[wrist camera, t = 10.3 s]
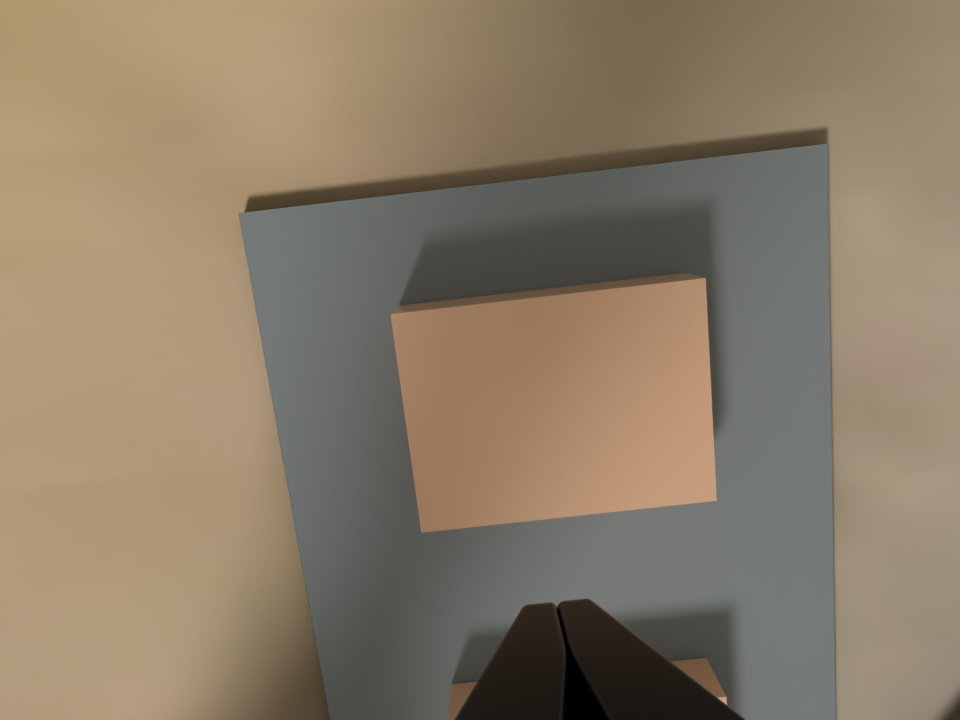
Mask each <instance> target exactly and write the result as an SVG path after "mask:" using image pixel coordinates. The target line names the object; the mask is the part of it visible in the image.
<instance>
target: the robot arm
mask: <svg viewBox="0 0 960 720" xmlns="http://www.w3.org/2000/svg"><path fill="white" fill-rule="evenodd" d="M454 720H746V719H744V718H743V717H742V716H740V715H739V714H738V713H737V712H735V711H734V710H733V709H731V708H730V707H729V706H727V705H726V704H725V703H724V702H722V701H721V700H720V699H718V698H717V697H716V696H715V695H713V694H712V693H711V692H709V691H708V690H707V689H706V688H704V687H703V686H702V685H700V684H699V683H698V682H697V681H695V680H694V679H693V678H691V677H690V676H689V675H688V674H686V673H685V672H684V671H682V670H681V669H680V668H679V667H677V666H676V665H675V664H673V663H672V662H671V661H670V660H668V659H667V658H666V657H664V656H663V655H662V654H661V653H659V652H658V651H657V650H655V649H654V648H653V647H651V646H650V645H649V644H648V643H646V642H645V641H644V640H642V639H641V638H640V637H639V636H637V635H636V634H635V633H633V632H632V631H631V630H630V629H628V628H627V627H626V626H624V625H623V624H622V623H621V622H619V621H618V620H617V619H615V618H614V617H613V616H612V615H610V614H609V613H608V612H606V611H605V610H604V609H603V608H601V607H600V606H599V605H597V604H596V603H595V602H594V601H592V600H590V599H587V598H585V599H575V600H566V601H561V602H560V603H559V604H558V606H556V605H555V604H554V603H552V602H547V603H537V604H528V605H525V606H523V607H522V609H521V610H520V612H519V614H518V615H517V617H516V619H515V620H514V622H513V624H512V625H511V627H510V628H509V630H508V632H507V633H506V635H505V637H504V638H503V640H502V642H501V643H500V645H499V647H498V648H497V650H496V652H495V653H494V655H493V657H492V658H491V660H490V661H489V663H488V665H487V666H486V668H485V670H484V671H483V673H482V675H481V676H480V678H479V680H478V681H477V683H476V685H475V686H474V688H473V689H472V691H471V693H470V694H469V696H468V698H467V699H466V701H465V703H464V704H463V706H462V708H461V709H460V711H459V713H458V714H457V716H456V717H455V719H454Z"/></svg>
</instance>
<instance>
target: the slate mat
mask: <svg viewBox="0 0 960 720" xmlns="http://www.w3.org/2000/svg"><path fill="white" fill-rule="evenodd" d="M239 219H240V224H241V230H242V235H243V241H244V246H245V252H246V257H247V263H248V269H249V274H250V280H251V285H252V291H253V296H254V302H255V307H256V313H257V318H258V324H259V330H260V335H261V341H262V346H263V352H264V357H265V363H266V368H267V374H268V380H269V385H270V391H271V396H272V402H273V407H274V413H275V418H276V424H277V429H278V435H279V441H280V446H281V452H282V457H283V463H284V468H285V474H286V479H287V485H288V491H289V496H290V502H291V507H292V513H293V518H294V524H295V529H296V535H297V540H298V546H299V552H300V557H301V563H302V568H303V574H304V579H305V585H306V590H307V596H308V602H309V607H310V613H311V618H312V624H313V629H314V635H315V640H316V646H317V651H318V657H319V663H320V668H321V674H322V679H323V685H324V690H325V696H326V701H327V707H328V713H329V718H330V720H449V711H450V693H451V684H457V683H467V682H476V681H478V680H479V678H480V676H481V675H482V673H483V671H484V670H485V668H486V666H487V665H488V663H489V661H490V660H491V658H492V657H493V655H494V653H495V652H496V650H497V648H498V647H499V645H500V643H501V642H502V640H503V638H504V637H505V635H506V633H507V632H508V630H509V628H510V627H511V625H512V624H513V622H514V620H515V619H516V617H517V615H518V614H519V612H520V610H521V609H522V607H523V606H525V605H528V604H537V603H547V602H552V603H554V604H555V605H556V606H558V604H559V603H560V602H561V601H566V600H575V599H585V598H587V599H590V600H592V601H594V602H595V603H596V604H597V605H599V606H600V607H601V608H603V609H604V610H605V611H606V612H608V613H609V614H610V615H612V616H613V617H614V618H615V619H617V620H618V621H619V622H621V623H622V624H623V625H624V626H626V627H627V628H628V629H630V630H631V631H632V632H633V633H635V634H636V635H637V636H639V637H640V638H641V639H642V640H644V641H645V642H646V643H648V644H649V645H650V646H651V647H653V648H654V649H655V650H657V651H658V652H659V653H661V654H662V655H663V656H664V657H666V658H667V659H668V660H670V661H679V660H689V659H698V658H707V660H708V662H709V664H710V666H711V668H712V670H713V672H714V674H715V676H716V678H717V679H718V681H719V683H720V685H721V687H722V689H723V691H724V693H725V695H726V697H727V706H729V707H730V708H731V709H733V710H734V711H735V712H737V713H738V714H739V715H740V716H742V717H743V718H744V719H746V720H836V704H835V633H834V562H833V491H832V419H831V348H830V277H829V205H828V144H820V145H811V146H803V147H795V148H786V149H778V150H769V151H761V152H752V153H744V154H735V155H727V156H718V157H710V158H701V159H693V160H684V161H676V162H667V163H659V164H651V165H642V166H634V167H625V168H617V169H608V170H600V171H591V172H583V173H574V174H566V175H557V176H549V177H540V178H532V179H523V180H515V181H507V182H498V183H490V184H481V185H473V186H464V187H456V188H447V189H439V190H430V191H422V192H413V193H405V194H396V195H388V196H379V197H371V198H363V199H354V200H346V201H337V202H329V203H320V204H312V205H303V206H295V207H286V208H278V209H269V210H261V211H252V212H244V213H239ZM678 273H688V274H692V275H696V276H700V277H703V278H706V293H707V314H708V334H709V354H710V374H711V394H712V415H713V435H714V455H715V475H716V495H717V501H710V502H701V503H692V504H683V505H673V506H664V507H655V508H646V509H636V510H627V511H618V512H609V513H599V514H590V515H581V516H572V517H562V518H553V519H544V520H535V521H525V522H516V523H507V524H498V525H488V526H479V527H470V528H461V529H451V530H442V531H433V532H424V533H421V527H420V519H419V512H418V505H417V498H416V491H415V484H414V477H413V470H412V463H411V456H410V449H409V442H408V435H407V428H406V421H405V413H404V406H403V399H402V392H401V385H400V378H399V371H398V364H397V357H396V350H395V343H394V336H393V329H392V322H391V313H392V312H393V311H394V310H395V309H396V308H397V307H398V306H399V305H408V304H417V303H425V302H434V301H443V300H452V299H460V298H469V297H478V296H486V295H495V294H504V293H512V292H521V291H530V290H539V289H547V288H556V287H565V286H573V285H582V284H591V283H600V282H608V281H617V280H626V279H634V278H643V277H652V276H661V275H669V274H678Z"/></svg>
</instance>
